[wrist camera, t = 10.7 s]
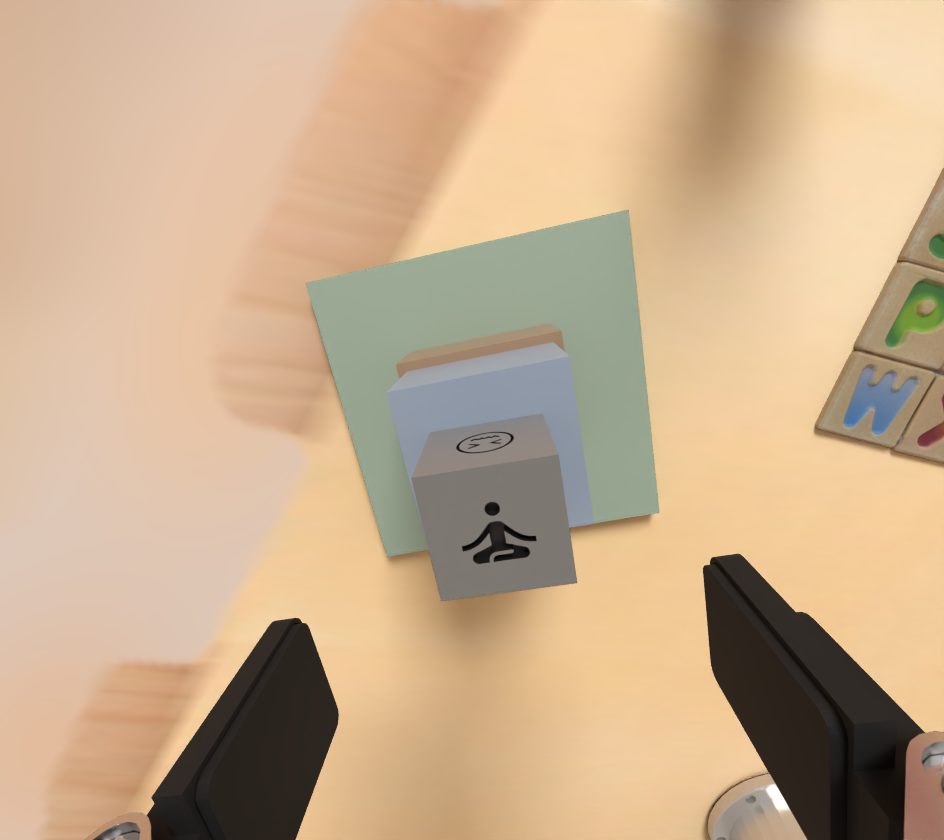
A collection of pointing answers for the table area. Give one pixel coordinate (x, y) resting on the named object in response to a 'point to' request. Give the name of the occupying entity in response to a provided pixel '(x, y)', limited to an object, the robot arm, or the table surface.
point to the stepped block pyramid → (497, 364)
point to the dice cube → (494, 508)
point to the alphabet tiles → (900, 352)
